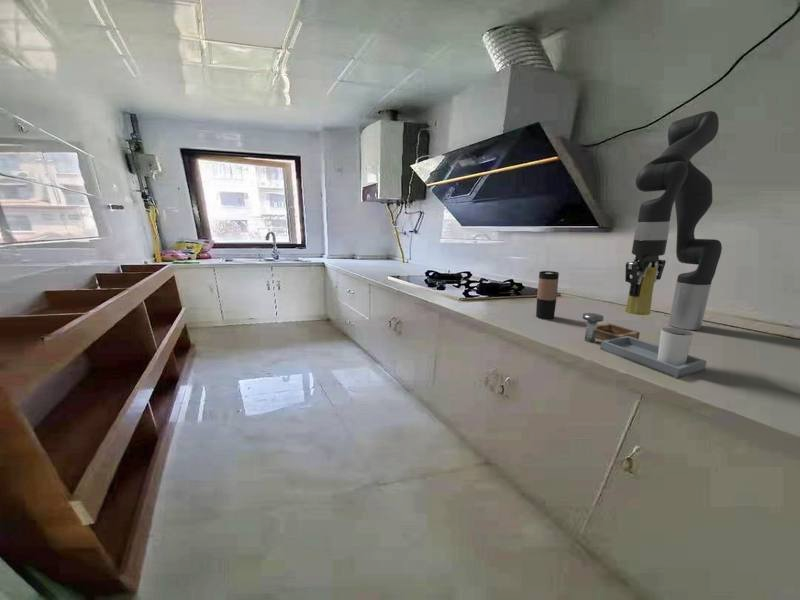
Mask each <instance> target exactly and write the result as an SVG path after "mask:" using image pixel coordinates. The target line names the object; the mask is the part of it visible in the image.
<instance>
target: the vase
mask: <svg viewBox="0 0 800 600" xmlns="http://www.w3.org/2000/svg"><path fill="white" fill-rule="evenodd" d="M644 268H645V267H644ZM656 270H657V267H649V268H647V274H646V276H645V277H644V278H643V279H642V281H641V283H640V284H639V285H640V290H639V296H638V297H633V296H630V295H629V294H628V296H627V301H626V305H625V309H624V311H625V312H626V313H628V314H631V315H636V316H648V315H650V314H651V307H652V300H653V299H652V298H653V291H654V286H655V282H654V280H655V275H656ZM637 273H639V274H641V273H642V272H641V271H637ZM637 280H638V276H637ZM629 292H630V290H629V291H628V293H629Z"/></svg>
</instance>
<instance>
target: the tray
mask: <svg viewBox="0 0 800 600" xmlns="http://www.w3.org/2000/svg"><path fill="white" fill-rule="evenodd" d="M600 342H601V343H600V349H599V350H602V351H604V352H606V353H609V354H612V355H615V356H617V357H620V358H622V359H625V360H627V361H630V362H633V363H636V364H637V365H640V366H644V367H646V368H648V369H650V370H653V371H656V372H658V373H661V374H663V375H666V376H668V377H672V378H675V380H676V379H680V378H684V377H687V376H690V375H693V374H696V373H697V374H698V373H701V372H703V371H705V370H706V366H707V362H708V361H707V360H705V359H702V358H700V357H696V356H692V355H690V354H688V356H687V360H686V363H685V364H684V365H681V366H674V365H671V364H668V363H665V362H662V361H660V360H657V358H658V351H659V344H654V343H651V342H648V341H645V340H642V339H640V338H639V339H636V338H633V337H630V336H623V337H618V338H614V339H609V340H604V341H603V340H600Z"/></svg>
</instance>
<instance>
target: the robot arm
mask: <svg viewBox="0 0 800 600" xmlns="http://www.w3.org/2000/svg"><path fill="white" fill-rule="evenodd" d="M719 125H720V124H719V116H718V113H717V112H716V111H714V110H709V111H703V112H700V113H697V114H694V115H691V116H687V117H684V118H682V119H677V120H675V121H673V122H672V123H671V124H670V125H669V127H668V131H667V141H668V146H667V148H666V149H665V150H663V151H662V153H661V154H660V155H659V157H657V158H655V159H652V161H649V162H648V163H646V164H645V165H644V166H643V167H642V168H641V169H640V170H639V171H638V173H637V175H636V178H635V186H636V188H637V190H639V191H641V192H646V193H647V192H648V193H649V192H661V191H664V192H663V194H662V195H661V196H659V197H657V198H654V199H650V200H646V201H643V202H641V204H640V206H639V209H638V219H637V222H636V223H637V224H636V226H635V231H634V234H633V235H634V237H633V242H632V248H631V254H632V255H635V258H634V259H633V261H631V262H630V261H629V262H626V263H625V276H624V277H625V279H624V280H625V282H626V283H628V284H630V286H629V291H630V292H629V291H628V296H629V295H630V296H633V297H638V296H639V290H640V285H639V284H640V283H641V281H642V279H643V278H644V277H645V276H646V274H647V268H649V267H657V270H656V275H655V280H654V283H656V282H657V280H658V281H660V280H661V278H662V275H663V272H664V269H665V266H666V260H665V259H660V256H664V255H665V254H666V249H667V244H668V240H669V233H670V221H671V216H672V211H673V207H674V206H675V213H676V217H675V218H676V249H675V250H676V251H675V252H676V253H675V254H676V259H677V261H678V262H680V263H681V264H686V265H687V264H688V265H696V266H697V265H698V266H697V268H696V269H695V270H693V271H690V272H683V273H680V274H678V275H677V279H676V284H675V289H674V295H673V299H672V304H671V309H670V312H669V313H670V315H669V320H668V325H669V326H671V327H672V328H679V329H683V330H687V331H699V330H701V329H702V325H703V320H704V317H705V313H706V308H707V303H708V300H709V296H710V295H709V294H710V292H711V291H710V290H711V285H712V282H713V279H714V277H715V274H716V272H717V267H718V266H719V265H718V264H719V262H720V261H719V260H720V258H721V254H722V250H723V249H722V247H723V246H722V242H721V241H720V240H719V239H713V238H711V239H710V238H709V239H707V238H695V231H696V230H695V229H696V227H697V224H698V223H699V222H700V220H701V219H702V218H703V216H705V214H706V213H707V212H708V211H709V209H710V208H711V206H712V204H713V199H714V198H713V183H712V181H711V180H710V178H709V177H708V176H707V175H706V174H705V173H704V172H702V171H701V170H700V169H699V168H697V167H696V166H695V164H693V163H692V162H691V160H692V158H693V157H695V155H697V153H698V152H700V151H701V150H702V149H703V148H705V147H706V146H707V145H708V144H710V143H711V142H712V141H713V140H714V139H715V138H716V136H717V135H718V132H719ZM644 267H645V268H644ZM637 271H641V272H642V273H641V274H639V273H637ZM637 276H638V280H637Z"/></svg>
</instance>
